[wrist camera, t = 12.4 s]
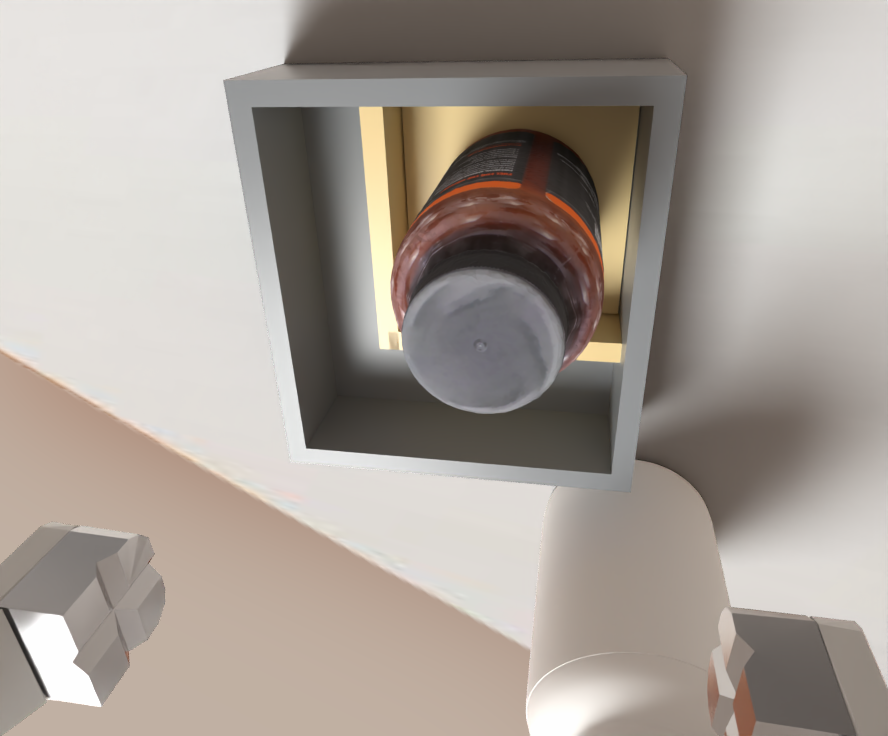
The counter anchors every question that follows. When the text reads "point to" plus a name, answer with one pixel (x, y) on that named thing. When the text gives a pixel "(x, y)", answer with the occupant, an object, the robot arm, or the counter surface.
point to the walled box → (390, 217)
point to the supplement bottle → (501, 273)
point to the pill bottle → (625, 611)
